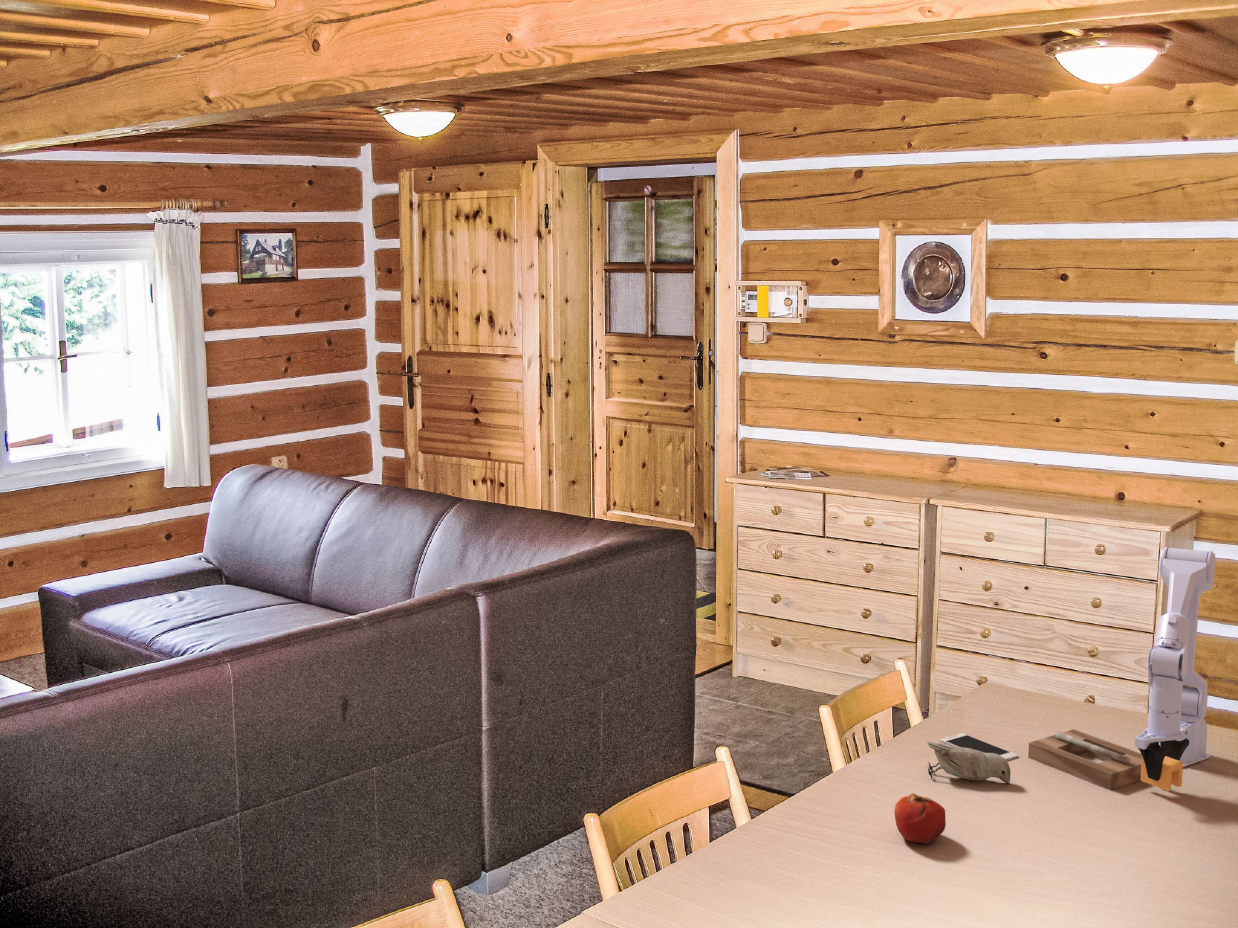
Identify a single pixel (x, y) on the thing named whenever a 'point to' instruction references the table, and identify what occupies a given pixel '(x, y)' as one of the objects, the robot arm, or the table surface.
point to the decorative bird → (969, 763)
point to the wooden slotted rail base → (1064, 756)
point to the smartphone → (977, 745)
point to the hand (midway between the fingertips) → (1161, 775)
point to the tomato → (919, 818)
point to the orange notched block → (1165, 774)
